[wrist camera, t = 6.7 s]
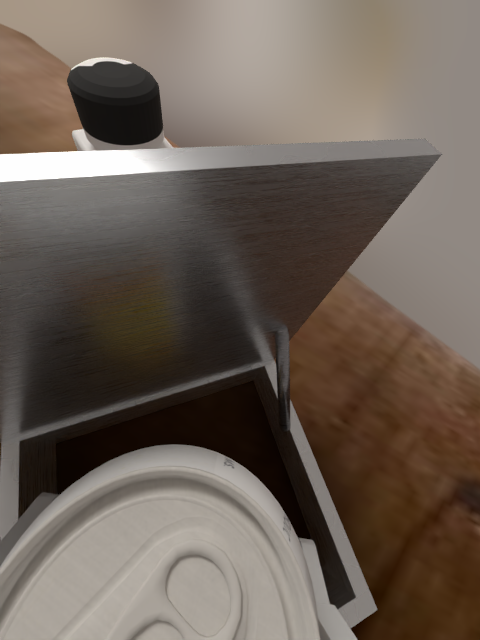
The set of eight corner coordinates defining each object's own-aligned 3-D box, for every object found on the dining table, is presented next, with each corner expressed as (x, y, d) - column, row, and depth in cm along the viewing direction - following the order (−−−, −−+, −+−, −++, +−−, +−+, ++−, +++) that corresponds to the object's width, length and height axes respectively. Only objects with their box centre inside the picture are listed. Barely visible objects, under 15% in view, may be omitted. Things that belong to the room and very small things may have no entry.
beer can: (114, 514, 16) (-285, 805, 3) (184, 432, 19) (157, 377, 5) (185, 594, 15) (92, 1789, 2) (249, 494, 17) (412, 616, 4)
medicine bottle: (188, 225, 28) (184, 89, 18) (125, 247, 25) (75, 101, 15) (158, 186, 30) (139, 44, 20) (97, 202, 28) (37, 48, 17)
